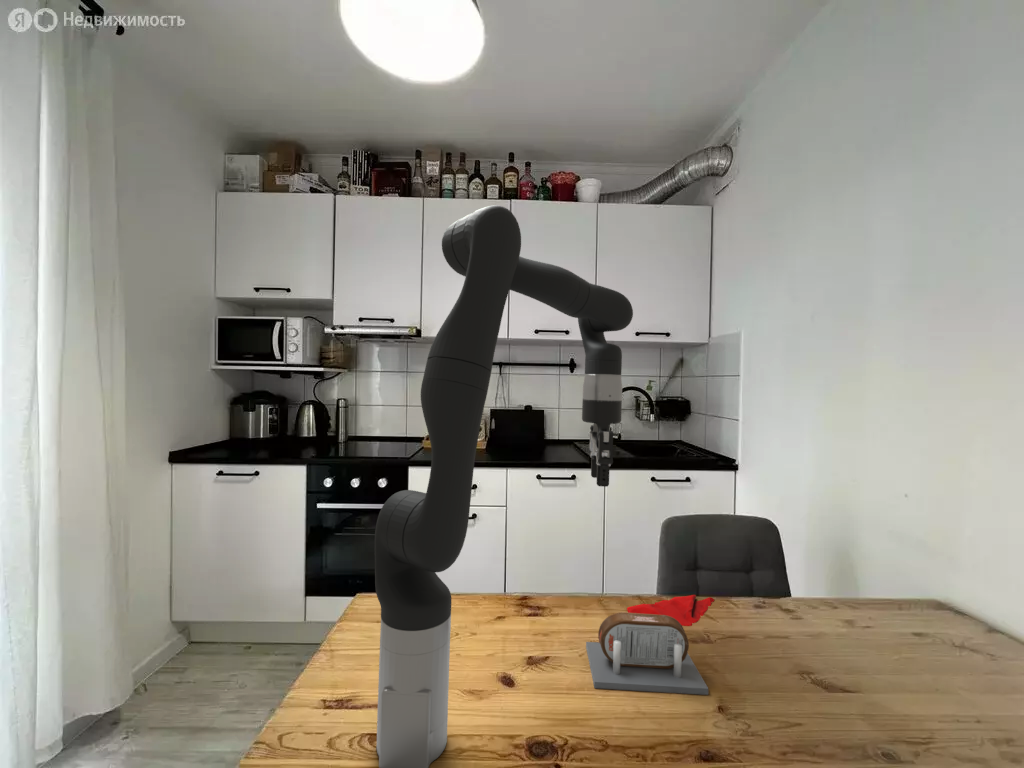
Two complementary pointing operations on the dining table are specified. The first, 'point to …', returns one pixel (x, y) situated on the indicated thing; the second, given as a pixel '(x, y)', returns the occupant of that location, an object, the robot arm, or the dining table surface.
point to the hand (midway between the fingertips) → (599, 481)
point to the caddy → (644, 673)
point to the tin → (643, 639)
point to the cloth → (676, 608)
